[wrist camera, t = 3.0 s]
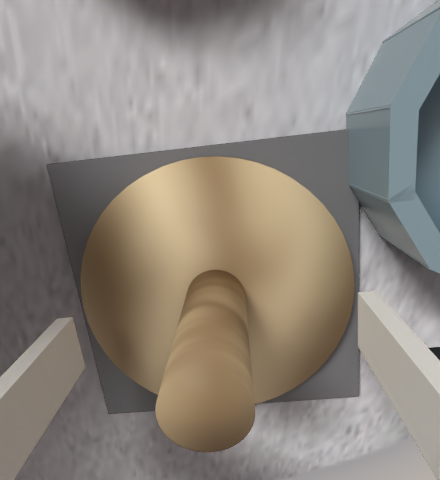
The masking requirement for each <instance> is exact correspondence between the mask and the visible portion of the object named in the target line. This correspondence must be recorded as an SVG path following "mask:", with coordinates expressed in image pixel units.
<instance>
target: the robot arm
mask: <svg viewBox="0 0 440 480" xmlns="http://www.w3.org/2000/svg"><path fill="white" fill-rule="evenodd" d="M358 347H359V349H360V351H361V352H362V354H363V356H364V358H365V359H366V361H367V363H368V364H369V366H370V368H371V369H372V371H373V373H374V374H375V376H376V378H377V379H378V381H379V383H380V384H381V386H382V388H383V389H384V391H385V393H386V394H387V396H388V398H389V399H390V401H391V403H392V405H393V406H394V408H395V410H396V411H397V413H398V415H399V416H400V418H401V420H402V421H403V423H404V425H405V426H406V428H407V430H408V431H409V433H410V435H411V436H412V438H413V440H414V441H415V443H416V445H417V446H418V448H419V450H420V451H421V453H422V455H423V457H424V458H425V460H426V461H427V463H428V465H429V467H430V468H431V470H432V472H433V473H434V475H435V477H436V478H437V480H440V347H434V348H428V347H427V346H426V345H425V344H424V343H423V342H422V341H421V340H420V339H419V337H418V336H417V335H416V334H415V333H414V332H413V331H412V330H411V329H410V328H409V327H408V326H407V324H406V323H405V322H404V321H403V320H402V319H401V318H400V317H399V316H398V315H397V314H396V313H395V311H394V310H393V309H392V308H391V307H390V306H389V305H388V304H387V303H386V302H385V301H384V300H383V298H382V297H381V296H380V295H379V294H378V293H377V292H376V291H368V292H358ZM84 369H85V363H84V359H83V356H82V352H81V348H80V344H79V340H78V336H77V332H76V328H75V324H74V321H73V317H68V318H57V319H56V320H55V321H54V322H53V323H52V324H51V325H50V326H49V327H48V328H47V329H46V330H45V331H44V332H43V333H42V334H41V335H40V336H39V337H38V338H37V339H36V341H35V342H34V343H33V344H32V345H31V346H30V347H29V348H28V349H27V350H26V351H25V352H24V353H23V354H22V355H21V356H20V357H19V358H18V359H17V360H16V361H15V362H14V363H13V364H12V365H11V366H10V367H9V369H8V370H7V371H6V372H5V373H4V374H3V375H2V376H1V377H0V480H14V479H15V478H16V476H17V474H18V473H19V471H20V470H21V468H22V467H23V465H24V463H25V462H26V460H27V459H28V457H29V456H30V454H31V452H32V451H33V449H34V448H35V446H36V445H37V443H38V441H39V440H40V438H41V437H42V435H43V434H44V432H45V430H46V429H47V427H48V426H49V424H50V423H51V421H52V419H53V418H54V416H55V415H56V413H57V412H58V410H59V408H60V407H61V405H62V404H63V402H64V401H65V399H66V397H67V396H68V394H69V393H70V391H71V390H72V388H73V386H74V385H75V383H76V382H77V380H78V378H79V377H80V375H81V374H82V372H83V371H84Z"/></svg>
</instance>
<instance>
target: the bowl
mask: <svg viewBox="0 0 440 480" xmlns="http://www.w3.org/2000/svg"><path fill="white" fill-rule="evenodd" d="M346 115H347V129H349V186H350V187H351V189H352V190H353V192H354V193H355V195H356V196H357V198H358V200H359V203H360V205H361V206H362V208H363V209H364V211H365V213H366V214H367V216H368V217H369V219H370V220H371V222H372V224H373V225H374V227H375V228H376V230H377V231H378V233H379V235H380V236H381V237H382V238H384V239H385V240H387V241H388V242H390V243H391V244H393V245H394V246H395V247H397V248H398V249H400V250H401V251H403V252H404V253H406V254H407V255H409V256H410V257H412V258H413V259H415V260H416V261H418V262H419V263H421V264H422V265H423V266H425V267H426V268H428V269H429V270H433V271H435V272H437V273H439V274H440V0H438V1H437V2H436V3H434V4H433V5H432V6H430V7H429V8H428V9H426V10H425V11H424V12H422V13H421V14H420V15H418V16H417V17H416V18H414V19H413V20H412V21H410V22H409V23H408V24H406V25H405V26H404V27H402V28H401V29H400V30H398V31H397V32H396V33H394V34H393V35H392V36H390V37H389V38H387V39H386V40H384V42H383V44H382V46H381V48H380V50H379V52H378V54H377V56H376V57H375V59H374V61H373V63H372V65H371V67H370V69H369V71H368V73H367V75H366V77H365V79H364V81H363V83H362V85H361V87H360V89H359V91H358V93H357V95H356V97H355V98H354V100H353V102H352V104H351V106H350V108H349V110H348V112H347V114H346Z"/></svg>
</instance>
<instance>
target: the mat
mask: <svg viewBox="0 0 440 480" xmlns="http://www.w3.org/2000/svg"><path fill="white" fill-rule="evenodd" d="M209 156H224V157H236V158H242V159H246V160H250V161H255V162H258V163H261V164H264V165H266V166H269V167H272V168H274V169H276V170H278V171H280V172H282V173H284V174H286V175H287V176H289V177H291V178H293V179H294V180H295V181H297V182H298V183H299V184H301V185H302V186H304V187H305V188H306V189H308V190H309V191H310V192H311V193H312V194H313V195H314V196H315V197H316V198H317V199H318V200H319V201H320V202H321V203H322V204H323V205H324V206H325V207H326V209H327V210H328V211H329V212H330V214H331V215H332V216H333V218H334V219H335V221H336V223H337V224H338V226H339V228H340V230H341V231H342V233H343V235H344V238H345V240H346V243H347V246H348V248H349V251H350V255H351V260H352V264H353V270H354V283H355V286H354V301H353V306H352V310H351V315H350V318H349V321H348V324H347V327H346V329H345V332H344V334H343V336H342V338H341V340H340V342H339V343H338V345H337V347H336V348H335V350H334V351H333V353H332V354H331V355H330V357H329V358H328V360H327V361H326V362H325V363H324V364H323V365H322V366H321V367H320V368H319V369H318V370H317V371H316V372H315V373H314V374H313V375H311V376H310V377H309V378H308V379H307V380H305V381H304V382H303V383H301V384H300V385H298V386H296V387H295V388H293V389H292V390H290V391H288V392H286V393H284V394H282V395H280V396H278V397H276V398H273V399H270V400H267V401H264V402H262V403H271V402H285V401H300V400H314V399H328V398H342V397H356V396H359V347H358V292H359V200H358V198H357V196H356V195H355V193H354V192H353V190H352V189H351V187H350V186H349V129H346V130H338V131H329V132H321V133H312V134H303V135H295V136H286V137H278V138H269V139H261V140H252V141H243V142H235V143H226V144H218V145H209V146H200V147H192V148H183V149H175V150H166V151H157V152H149V153H140V154H132V155H123V156H114V157H106V158H97V159H89V160H80V161H71V162H63V163H54V164H47V169H48V173H49V177H50V181H51V185H52V189H53V193H54V197H55V201H56V205H57V209H58V213H59V217H60V221H61V225H62V229H63V233H64V237H65V241H66V245H67V249H68V253H69V257H70V261H71V265H72V269H73V273H74V277H75V281H76V285H77V289H78V293H79V297H80V302H81V306H82V310H83V314H84V318H85V322H86V326H87V330H88V334H89V338H90V342H91V346H92V350H93V354H94V358H95V362H96V366H97V370H98V374H99V378H100V382H101V386H102V390H103V394H104V398H105V402H106V406H107V410H108V414H116V413H130V412H144V411H155V408H156V401H157V397H158V395H157V394H155V393H153V392H151V391H149V390H147V389H146V388H144V387H142V386H141V385H139V384H137V383H136V382H135V381H133V380H132V379H131V378H129V377H128V376H127V375H126V374H124V373H123V372H122V371H121V370H120V369H119V368H118V367H117V366H116V365H115V364H114V363H113V362H112V361H111V359H110V358H109V357H108V356H107V355H106V353H105V352H104V351H103V349H102V348H101V346H100V344H99V343H98V341H97V340H96V338H95V336H94V334H93V332H92V330H91V328H90V326H89V323H88V320H87V317H86V314H85V311H84V307H83V301H82V295H81V277H80V276H81V267H82V259H83V255H84V251H85V247H86V244H87V241H88V239H89V236H90V234H91V232H92V229H93V227H94V226H95V224H96V222H97V221H98V219H99V217H100V216H101V214H102V212H103V211H104V210H105V209H106V208H107V206H108V205H109V204H110V203H111V202H112V200H113V199H114V198H115V197H116V196H117V195H119V194H120V193H121V192H122V191H123V190H124V189H125V188H126V187H127V186H129V185H130V184H132V183H133V182H135V181H136V180H138V179H139V178H141V177H142V176H144V175H146V174H148V173H150V172H152V171H154V170H156V169H158V168H160V167H163V166H165V165H168V164H171V163H174V162H177V161H181V160H186V159H191V158H197V157H209Z"/></svg>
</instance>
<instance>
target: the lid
mask: <svg viewBox="0 0 440 480" xmlns="http://www.w3.org/2000/svg"><path fill="white" fill-rule="evenodd" d="M80 277H81V295H82V301H83V307H84V311H85V314H86V317H87V320H88V323H89V326H90V328H91V330H92V332H93V334H94V336H95V338H96V340H97V341H98V343H99V344H100V346H101V348H102V349H103V351H104V352H105V353H106V355H107V356H108V357H109V358H110V359H111V361H112V362H113V363H114V364H115V365H116V366H117V367H118V368H119V369H120V370H121V371H122V372H123V373H124V374H126V375H127V376H128V377H129V378H131V379H132V380H133V381H135V382H136V383H137V384H139V385H141V386H142V387H144V388H146V389H147V390H149V391H151V392H153V393H155V394H157V395H158V397H157V401H156V408H155V412H156V418H157V422H158V424H159V426H160V428H161V429H162V431H163V432H164V433H165V435H166V436H167V437H168V438H169V439H170V440H172V441H173V442H175V443H176V444H178V445H180V446H182V447H184V448H186V449H190V450H193V451H198V452H216V451H221V450H225V449H228V448H230V447H232V446H234V445H236V444H237V443H239V442H240V441H241V440H243V439H244V438H245V437H246V436H247V434H248V433H249V432H250V430H251V428H252V426H253V423H254V419H255V404H257V403H262V402H264V401H267V400H270V399H273V398H276V397H278V396H280V395H282V394H284V393H286V392H288V391H290V390H292V389H293V388H295V387H296V386H298V385H300V384H301V383H303V382H304V381H305V380H307V379H308V378H309V377H310V376H311V375H313V374H314V373H315V372H316V371H317V370H318V369H319V368H320V367H321V366H322V365H323V364H324V363H325V362H326V361H327V360H328V358H329V357H330V355H331V354H332V353H333V351H334V350H335V348H336V347H337V345H338V343H339V342H340V340H341V338H342V336H343V334H344V332H345V329H346V327H347V324H348V321H349V318H350V315H351V310H352V306H353V301H354V286H355V283H354V270H353V264H352V260H351V255H350V251H349V248H348V246H347V243H346V240H345V238H344V235H343V233H342V231H341V230H340V228H339V226H338V224H337V223H336V221H335V219H334V218H333V216H332V215H331V214H330V212H329V211H328V210H327V209H326V207H325V206H324V205H323V204H322V203H321V202H320V201H319V200H318V199H317V198H316V197H315V196H314V195H313V194H312V193H311V192H310V191H309V190H308V189H306V188H305V187H304V186H302V185H301V184H299V183H298V182H297V181H295V180H294V179H293V178H291V177H289V176H287V175H286V174H284V173H282V172H280V171H278V170H276V169H274V168H272V167H269V166H266V165H264V164H261V163H258V162H255V161H250V160H246V159H242V158H236V157H224V156H209V157H197V158H191V159H186V160H181V161H177V162H174V163H171V164H168V165H165V166H163V167H160V168H158V169H156V170H154V171H152V172H150V173H148V174H146V175H144V176H142V177H141V178H139V179H138V180H136V181H135V182H133V183H132V184H130V185H129V186H127V187H126V188H125V189H124V190H123V191H122V192H121V193H120V194H119V195H117V196H116V197H115V198H114V199H113V200H112V202H111V203H110V204H109V205H108V206H107V208H106V209H105V210H104V211H103V212H102V214H101V216H100V217H99V219H98V221H97V222H96V224H95V226H94V227H93V229H92V232H91V234H90V236H89V239H88V241H87V244H86V247H85V251H84V255H83V259H82V267H81V276H80Z"/></svg>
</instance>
